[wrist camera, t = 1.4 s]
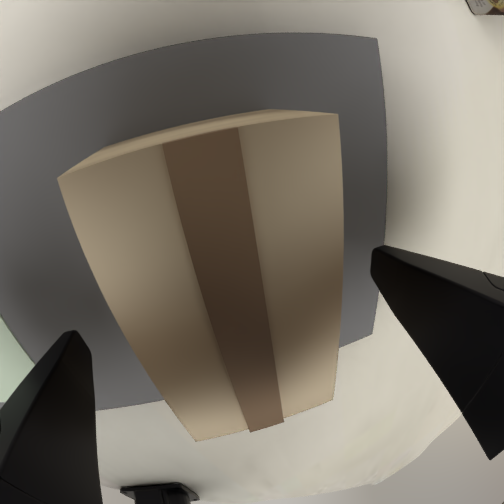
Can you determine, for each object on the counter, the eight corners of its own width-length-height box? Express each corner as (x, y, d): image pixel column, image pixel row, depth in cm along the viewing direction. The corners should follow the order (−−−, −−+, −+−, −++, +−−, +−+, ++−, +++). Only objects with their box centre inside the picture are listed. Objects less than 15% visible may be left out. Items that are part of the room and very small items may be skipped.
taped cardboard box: (293, 329, 13) (334, 403, 9) (182, 361, 12) (196, 445, 8) (268, 108, 8) (342, 114, 5) (104, 147, 7) (54, 180, 4)
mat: (366, 327, 15) (373, 335, 15) (-31, 407, 11) (-33, 414, 10) (367, 40, 8) (378, 38, 8) (-135, 239, 4) (-141, 244, 3)
